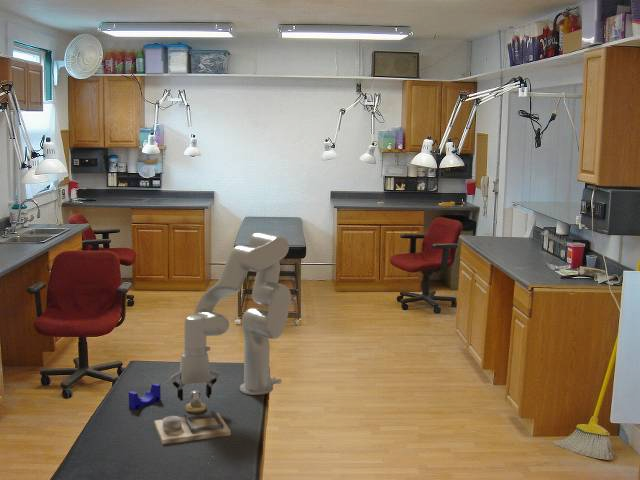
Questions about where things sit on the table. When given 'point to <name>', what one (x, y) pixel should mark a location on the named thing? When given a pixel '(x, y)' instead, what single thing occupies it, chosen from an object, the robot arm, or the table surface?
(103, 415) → the table surface
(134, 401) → the cable clip
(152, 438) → the table surface
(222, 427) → the carrier plate
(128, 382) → the table surface
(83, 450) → the table surface
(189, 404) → the gold and silver knob
